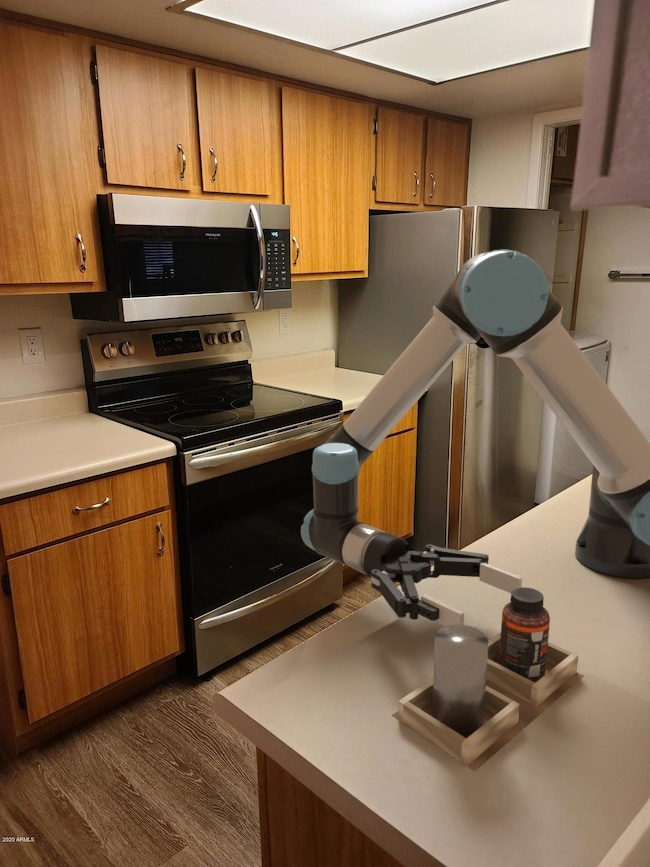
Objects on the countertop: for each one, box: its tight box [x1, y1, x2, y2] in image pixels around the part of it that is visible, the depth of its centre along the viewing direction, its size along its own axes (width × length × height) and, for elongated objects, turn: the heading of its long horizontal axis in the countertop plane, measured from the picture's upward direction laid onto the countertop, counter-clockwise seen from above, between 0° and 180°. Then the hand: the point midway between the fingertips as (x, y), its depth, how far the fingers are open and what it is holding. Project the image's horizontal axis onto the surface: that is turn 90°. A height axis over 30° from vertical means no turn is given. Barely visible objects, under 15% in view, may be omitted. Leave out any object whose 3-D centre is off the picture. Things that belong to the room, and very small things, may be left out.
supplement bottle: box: [499, 586, 551, 682], centre depth 83 cm, size 6×6×11 cm
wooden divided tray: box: [391, 632, 585, 772], centre depth 80 cm, size 24×12×4 cm, turn 132°
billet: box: [432, 624, 489, 738], centre depth 74 cm, size 6×6×11 cm
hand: (492, 604), depth 86 cm, fingers open, 13 cm apart
